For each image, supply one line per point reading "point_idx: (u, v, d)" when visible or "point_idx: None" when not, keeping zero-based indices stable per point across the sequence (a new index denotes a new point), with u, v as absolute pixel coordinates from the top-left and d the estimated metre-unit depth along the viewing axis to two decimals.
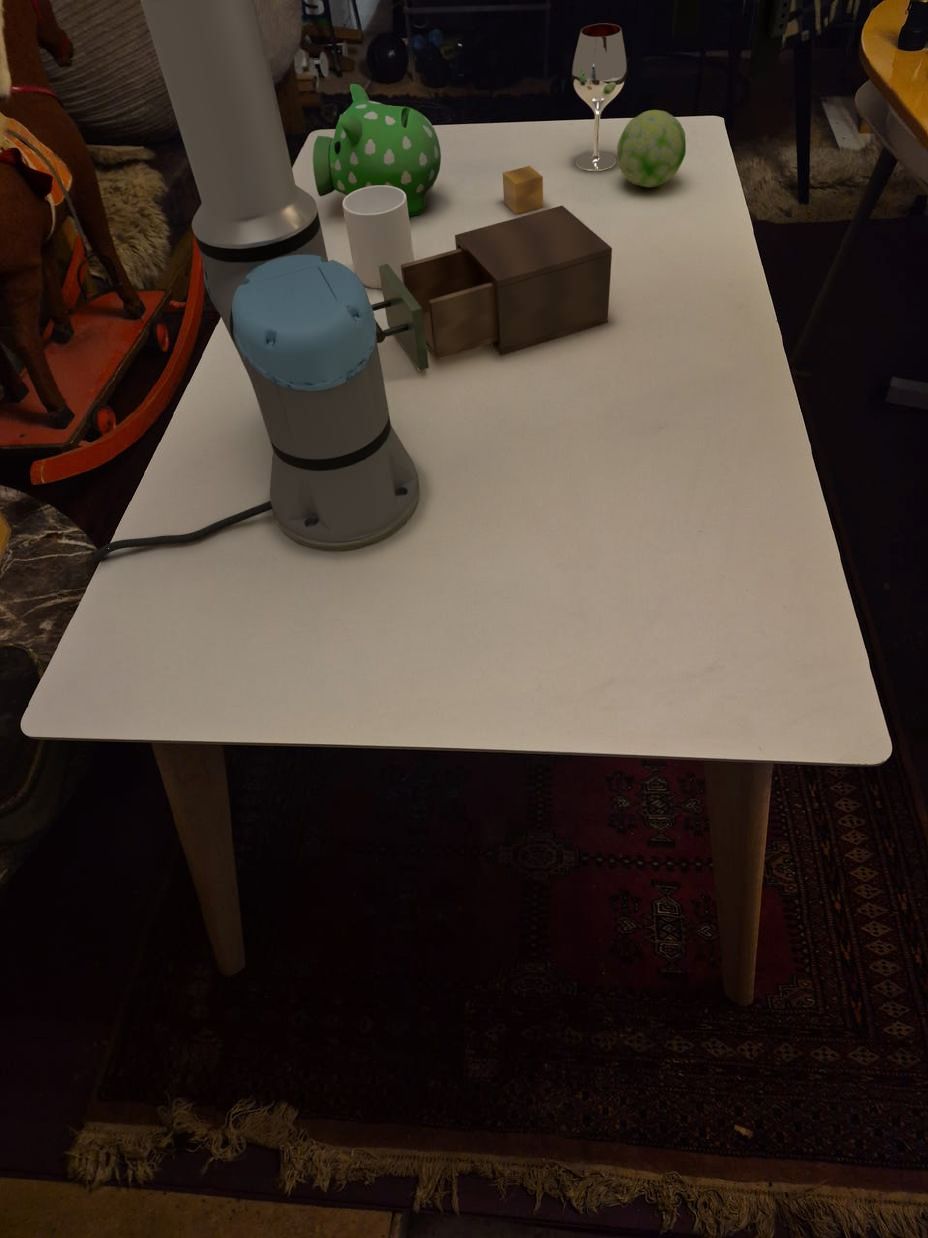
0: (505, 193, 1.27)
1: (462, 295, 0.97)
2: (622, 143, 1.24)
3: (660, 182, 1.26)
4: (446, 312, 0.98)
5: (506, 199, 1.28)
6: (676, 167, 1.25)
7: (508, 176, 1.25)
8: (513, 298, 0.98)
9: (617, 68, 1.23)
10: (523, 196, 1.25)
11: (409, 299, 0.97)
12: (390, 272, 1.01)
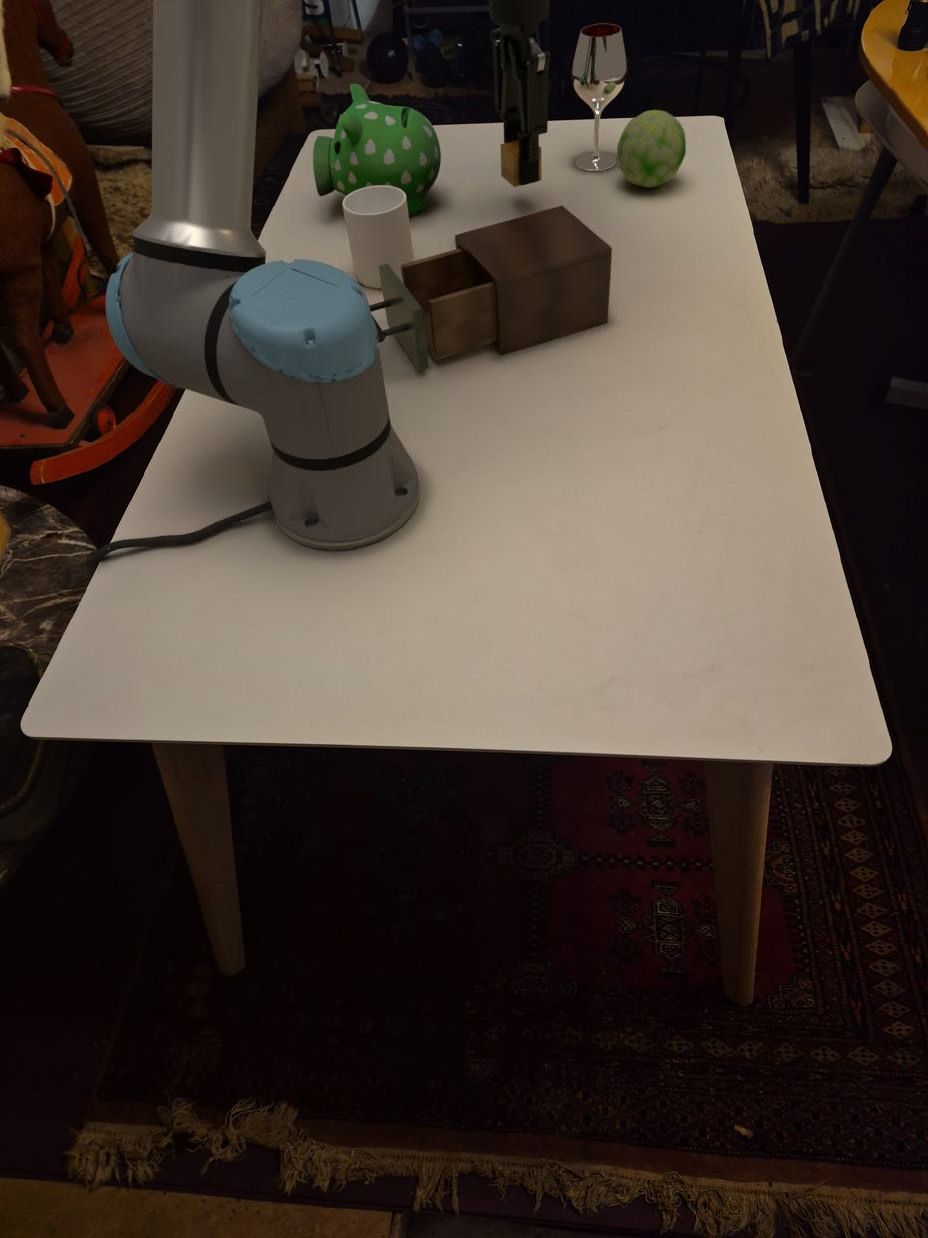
0: (503, 166, 1.24)
1: (462, 295, 0.97)
2: (622, 143, 1.24)
3: (660, 182, 1.26)
4: (446, 312, 0.98)
5: (503, 171, 1.25)
6: (676, 167, 1.25)
7: (506, 148, 1.21)
8: (513, 298, 0.98)
9: (617, 68, 1.23)
10: None
11: (409, 299, 0.97)
12: (390, 272, 1.01)
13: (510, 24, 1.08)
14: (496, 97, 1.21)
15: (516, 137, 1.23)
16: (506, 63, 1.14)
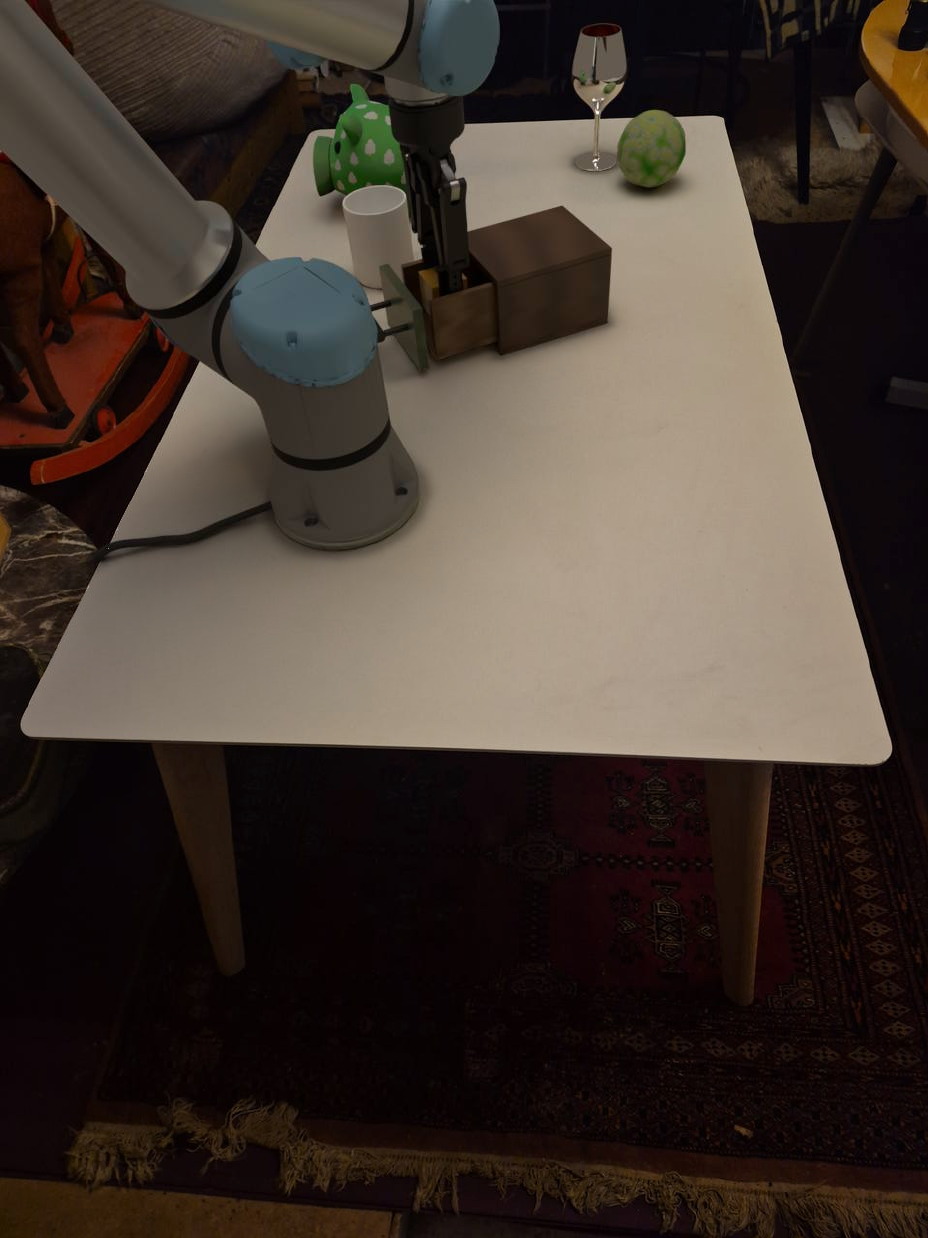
0: (423, 296, 1.02)
1: (463, 295, 0.97)
2: (622, 143, 1.24)
3: (660, 182, 1.26)
4: (446, 312, 0.98)
5: (424, 302, 1.03)
6: (676, 167, 1.25)
7: (424, 277, 1.00)
8: (513, 298, 0.98)
9: (617, 68, 1.23)
10: None
11: (409, 299, 0.97)
12: (391, 272, 1.01)
13: (415, 145, 0.86)
14: (411, 217, 0.99)
15: (437, 263, 1.01)
16: (417, 184, 0.93)
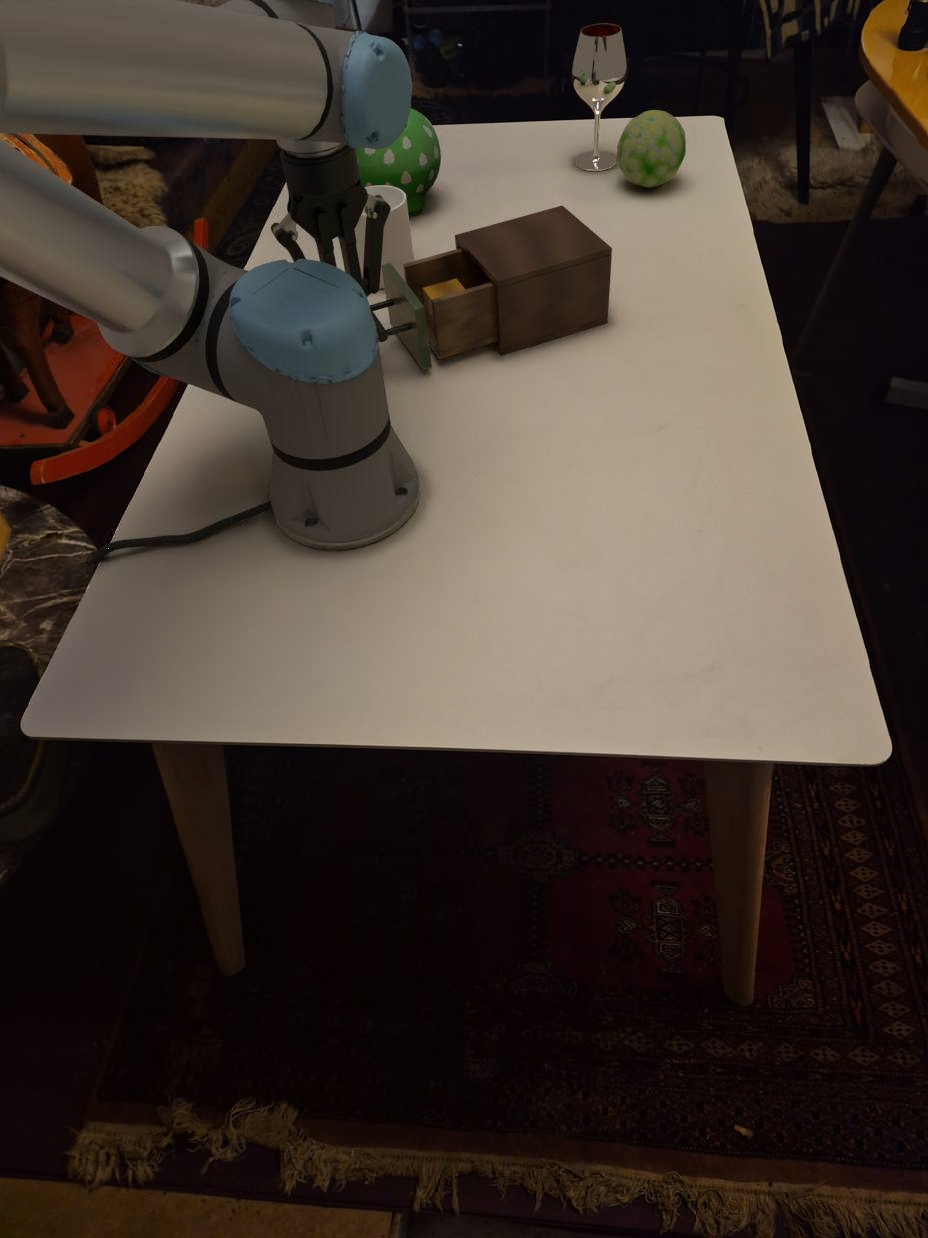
0: (427, 311, 1.04)
1: (465, 294, 0.97)
2: (622, 143, 1.24)
3: (660, 182, 1.26)
4: (449, 312, 0.98)
5: (428, 317, 1.05)
6: (676, 167, 1.25)
7: (428, 294, 1.02)
8: (513, 298, 0.98)
9: (617, 68, 1.23)
10: None
11: (412, 298, 0.97)
12: (393, 272, 1.01)
13: None
14: None
15: None
16: None
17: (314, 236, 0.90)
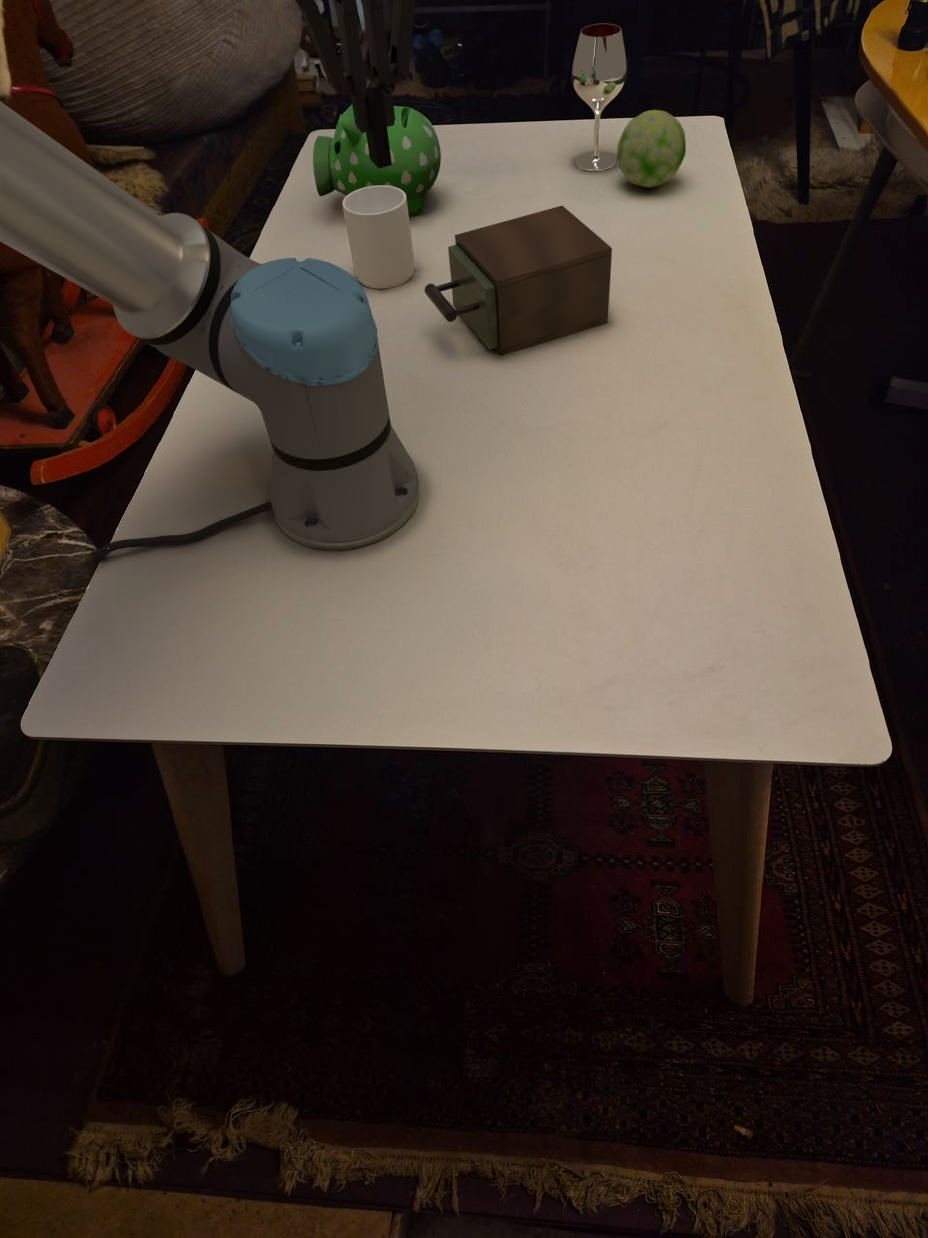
0: None
1: None
2: (622, 143, 1.24)
3: (660, 182, 1.26)
4: None
5: None
6: (676, 167, 1.25)
7: None
8: (513, 298, 0.98)
9: (617, 68, 1.23)
10: None
11: (482, 278, 0.98)
12: (461, 253, 1.03)
13: None
14: None
15: None
16: None
17: None
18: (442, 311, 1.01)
